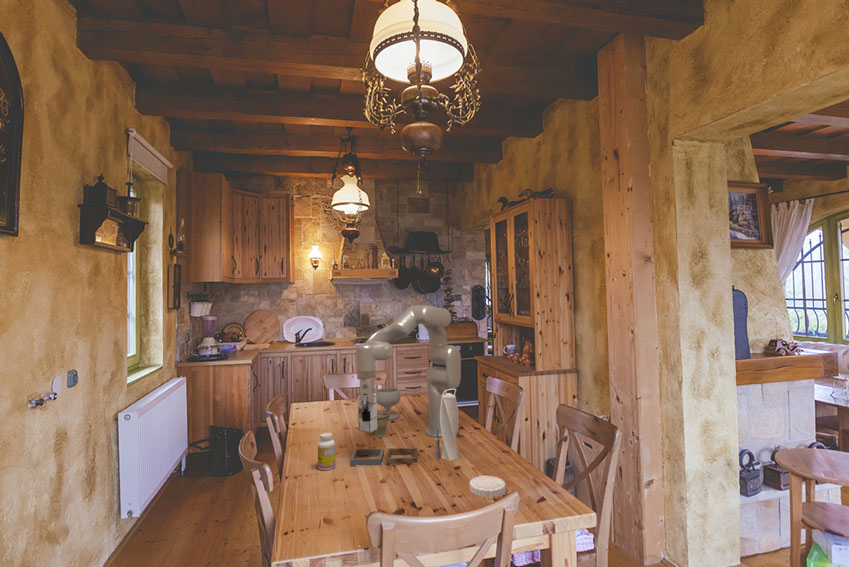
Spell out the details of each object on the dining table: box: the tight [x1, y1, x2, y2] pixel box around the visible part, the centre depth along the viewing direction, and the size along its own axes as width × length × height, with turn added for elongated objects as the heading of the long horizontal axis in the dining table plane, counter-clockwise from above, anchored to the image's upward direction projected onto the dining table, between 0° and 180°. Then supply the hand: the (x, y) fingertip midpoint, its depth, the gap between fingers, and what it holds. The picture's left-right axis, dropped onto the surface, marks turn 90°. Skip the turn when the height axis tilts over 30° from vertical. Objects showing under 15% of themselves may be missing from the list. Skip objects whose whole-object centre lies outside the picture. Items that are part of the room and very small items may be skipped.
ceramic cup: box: [370, 411, 390, 439], centre depth 211 cm, size 13×10×10 cm
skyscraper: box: [435, 388, 460, 461], centre depth 177 cm, size 8×8×28 cm
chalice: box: [375, 387, 401, 421], centre depth 242 cm, size 14×14×15 cm
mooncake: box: [468, 474, 507, 498], centre depth 147 cm, size 12×12×4 cm
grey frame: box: [349, 448, 385, 467], centre depth 178 cm, size 12×12×2 cm
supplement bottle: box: [317, 432, 336, 471], centre depth 171 cm, size 7×7×13 cm
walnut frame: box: [385, 447, 418, 466], centre depth 178 cm, size 12×12×2 cm
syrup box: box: [357, 393, 378, 433], centre depth 179 cm, size 6×6×14 cm
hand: (367, 417), depth 179 cm, fingers closed on syrup box, 7 cm apart
